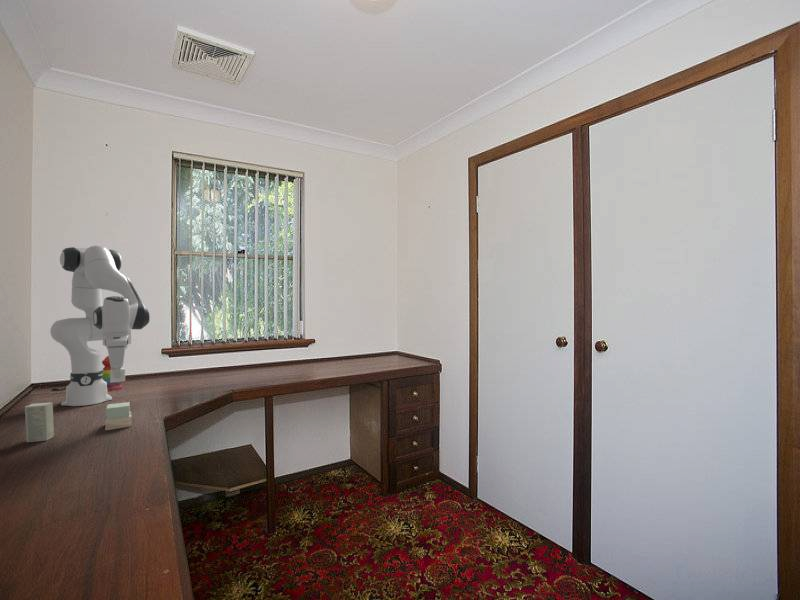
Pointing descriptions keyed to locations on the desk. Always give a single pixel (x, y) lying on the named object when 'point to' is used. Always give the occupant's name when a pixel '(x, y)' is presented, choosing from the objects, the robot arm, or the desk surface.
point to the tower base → (118, 422)
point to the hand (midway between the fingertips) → (117, 376)
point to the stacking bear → (107, 376)
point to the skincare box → (39, 422)
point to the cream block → (113, 379)
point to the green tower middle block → (117, 410)
